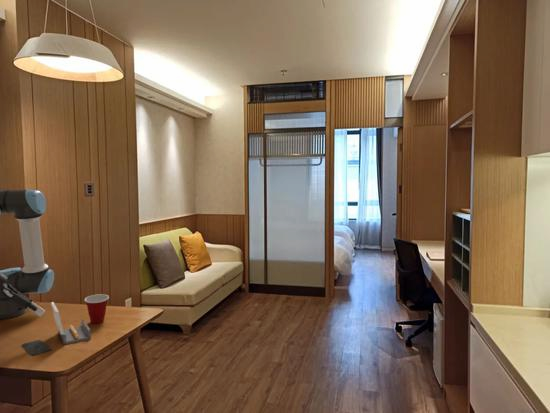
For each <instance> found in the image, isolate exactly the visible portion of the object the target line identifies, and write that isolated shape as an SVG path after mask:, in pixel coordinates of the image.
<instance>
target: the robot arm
mask: <svg viewBox="0 0 550 413" xmlns="http://www.w3.org/2000/svg"><path fill="white" fill-rule="evenodd" d="M46 209H47V201H46V197H45V195H44V194H43V192H41V191H40V190H38V189H2V190H0V216H1V215H3V214H4V215H5V214H8V215H9V214H13V216H14V219H15V220H16V221H18V225H19V226H18V227H19V233H20V234H19V235H20V242H21V249H22V255H23V256H22V257H23V263H24V266H23V267H22V268H21V267H11V268H6V269H5V268H4V269H3V270H2V269H1V270H0V320H1V319H3V320H4V319H10V318H14V317H15V318H16V317H18V316H21V315H24V314H26V313H27V309H28V310H29V311H31V312H32V313H34V314H36V315H37V316H38V317H42V316H43V315H44V314H45V313H46V310H45V309H43V308H42V307H41V306H39V305H37V304H36V303H35V302H33V299H32V298H31V299H30V298H29V297H27V296H26V295H24V294H42V293H43V294H44V293H48V292H49V291H50V290H51V289H52V287H53V285H54V281H55V272H54V270H52V269H49V268H50V267H49V265H48V264H47V263H45V258H44V256H45V255H44V250H43V249H44V248H43V247H44V246H43V240H42V232H41V230H42V229H41V222H40V219H41V218H42V217H43V214H44V213H45V212H46V211H47V210H46Z"/></svg>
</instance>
